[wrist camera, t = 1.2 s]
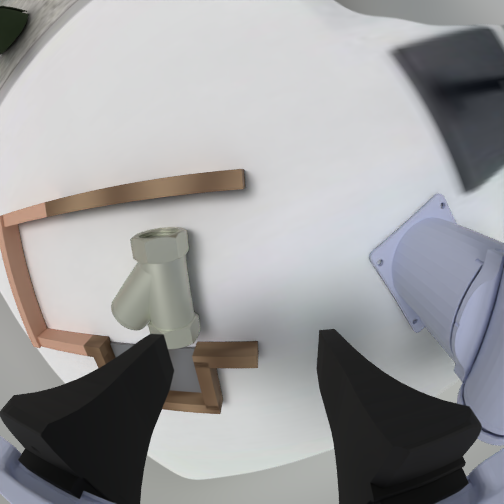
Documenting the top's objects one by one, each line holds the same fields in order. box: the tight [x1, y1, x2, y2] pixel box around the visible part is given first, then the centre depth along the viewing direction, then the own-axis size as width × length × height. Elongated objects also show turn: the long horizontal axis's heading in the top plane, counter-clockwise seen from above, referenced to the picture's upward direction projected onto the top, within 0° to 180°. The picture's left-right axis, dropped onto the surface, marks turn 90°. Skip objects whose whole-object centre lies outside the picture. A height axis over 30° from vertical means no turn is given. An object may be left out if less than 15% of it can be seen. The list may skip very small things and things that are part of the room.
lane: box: [45, 169, 258, 414], centre depth 20 cm, size 16×20×2 cm
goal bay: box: [0, 203, 93, 356], centre depth 20 cm, size 9×14×2 cm, turn 4°
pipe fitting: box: [111, 227, 201, 349], centre depth 19 cm, size 8×4×7 cm
